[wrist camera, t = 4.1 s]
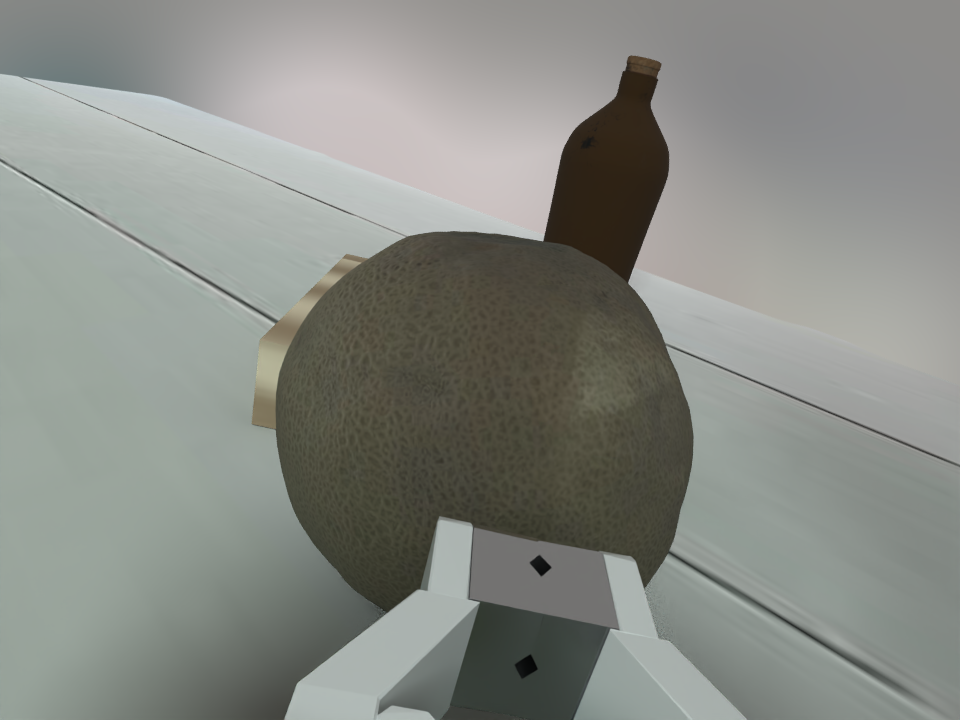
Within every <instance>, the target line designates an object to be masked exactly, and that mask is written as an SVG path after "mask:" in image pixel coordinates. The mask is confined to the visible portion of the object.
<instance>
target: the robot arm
mask: <svg viewBox="0 0 960 720" xmlns="http://www.w3.org/2000/svg"><path fill="white" fill-rule="evenodd" d="M450 705H451V706H457V707H463V708H469V709H475V710H481V711H487V712H493V713H500V714H506V715H511V716H515V717H520V718H524V719H528V720H747V719H746V718H745V717H744V716H743V715H742V714H741V713H740V712H739V711H738V710H737V709H736V708H735V707H734V706H733V705H732V704H731V703H730V702H729V701H728V700H727V699H726V698H725V697H724V696H723V695H722V694H721V693H720V691H719V690H718V689H717V688H716V687H715V686H714V685H713V684H712V683H711V682H710V681H709V680H708V679H707V678H706V677H705V676H704V675H703V674H702V673H701V672H700V671H699V670H698V669H697V668H696V667H695V666H694V665H693V664H692V663H691V662H690V661H689V660H688V659H687V658H686V657H685V656H684V655H683V654H682V653H681V652H680V651H679V650H678V649H677V648H676V647H675V646H674V645H673V644H672V643H671V642H670V641H667V640H662V639H659V636H658V633H657V629H656V626H655V623H654V620H653V616H652V613H651V610H650V606H649V603H648V600H647V597H646V593H645V590H644V587H643V583H642V580H641V577H640V574H639V570H638V567H637V564H636V561H635V560H634V559H633V558H632V557H631V556H625V555H620V554H614V553H609V552H603V551H599V552H598V551H593V550H588V549H583V548H578V547H573V546H568V545H563V544H558V543H553V542H548V541H543V540H539V539H536V538H533V537H528V536H524V535H520V534H516V533H511V532H507V531H503V530H499V529H494V528H490V527H486V526H482V525H477V524H471V523H469V522H464V521H459V520H455V519H450V518H445V517H441V516H439V519H438V521H437V524H436V528H435V532H434V536H433V540H432V544H431V548H430V552H429V556H428V560H427V564H426V567H425V571H424V575H423V580H422V584H421V588H420V590H416V591H415V592H413V593H412V594H411V595H410V596H408V597H407V598H406V599H404V600H403V601H402V602H401V603H399V604H398V605H397V606H396V607H394V608H393V609H392V610H390V611H389V612H388V613H387V614H385V615H384V616H383V617H381V618H380V619H379V620H378V621H376V622H375V623H374V624H372V625H371V626H370V627H369V628H367V629H366V630H365V631H363V632H362V633H361V634H360V635H358V636H357V637H356V638H354V639H353V640H352V641H351V642H349V643H348V644H347V645H345V646H344V647H343V648H342V649H340V650H339V651H338V652H337V653H335V654H334V655H333V656H331V657H330V658H329V659H328V660H326V661H325V662H324V663H322V664H321V665H320V666H319V667H317V668H316V669H315V670H313V671H312V672H311V673H310V674H308V675H307V676H306V677H304V678H303V679H302V680H301V681H299V682H298V683H297V685H296V688H295V691H294V694H293V696H292V699H291V702H290V705H289V708H288V710H287V713H286V716H285V719H284V720H440V719H441V718H442V717H443V715H444V714H445V713H446V712H447V710H448V709H449V706H450Z"/></svg>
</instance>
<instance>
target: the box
mask: <svg viewBox="0 0 960 720" xmlns="http://www.w3.org/2000/svg"><path fill="white" fill-rule="evenodd" d="M366 260H367V258H362V257H358V256H353V255H349V254H346V255H345V256H344V257H343V258H342V259H341V260H340V261H339V262H338V263H337V264H336V265H335V266H334V267H333V268H332V269H331V270H330V271H329V272H328V273H327V274H326V275H325V276H324V277H323V278H322V279H321V280H320V281H319V282H318V283H317V284H316V285H315V286H314V287H313V288H312V289H311V290H310V291H309V292H308V293H307V294H306V295H305V296H304V297H303V298H302V299H301V300H300V301H299V302H298V303H297V304H296V305H295V306H294V307H293V308H292V309H291V310H290V311H289V312H288V313H287V314H286V315H285V316H284V317H283V318H282V319H280V320H279V321H278V322H277V323H276V324H275V325H274V326H273V327H272V328H271V329H270V330H269V331H268V332H267V333H266V334H265V335H264V336H263V337H262V338H261V339H260V344H259V355H258V365H257V375H256V385H255V396H254V406H253V416H252V424H254V425H259V426H263V427H268V428H273V429H276V411H275V409H276V390H277V383H278V377H279V372H280V369H281V366H282V363H283V360H284V358H285V355H286V352H287V350H288V348H289V346H290V344H291V342H292V340H293V338H294V336H295V335H296V333H297V331H298V329H299V327H300V326H301V324H302V323H303V321H304V319H305V318H306V316H307V315H308V313H309V312H310V311H311V309H312V308H313V307H314V305H315V304H316V303H317V302H318V300H319V299H320V298H321V297H322V296H323V295H324V294H325V293H326V292H327V291H328V290H329V289H330V288H331V287H332V286H333V285H334V284H335V283H336V282H337V281H338V280H340V279H341V278H342V277H343V276H344V275H346V274H347V273H348V272H350V271H351V270H352V269H353V268H355V267H356V266H358V265H359V264H361V263H362V262H364V261H366Z"/></svg>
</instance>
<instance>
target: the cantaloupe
mask: <svg viewBox="0 0 960 720" xmlns="http://www.w3.org/2000/svg"><path fill="white" fill-rule="evenodd" d="M275 411H276V437H277V447H278V452H279V458H280V463H281V468H282V473H283V477H284V480H285V484H286V488H287V492H288V495H289V498H290V501H291V504H292V507H293V509H294V512H295V514H296V516H297V518H298V520H299V522H300V524H301V525H302V527H303V528H304V530H305V531H306V533H307V534H308V536H309V537H310V539H311V540H312V542H313V543H314V545H315V546H316V547H317V548H318V550H319V551H320V552H321V553H322V554H323V555H324V557H325V558H326V559H327V560H328V561H329V562H330V563H331V564H332V565H333V566H334V567H335V568H336V569H337V571H338V572H339V573H340V575H341V576H342V577H343V578H344V580H345V581H346V582H347V583H348V584H349V585H350V586H351V587H352V588H353V589H354V590H356V591H357V592H358V593H359V594H361V595H362V596H364V597H365V598H367V599H368V600H370V601H371V602H373V603H374V604H376V605H377V606H379V607H380V608H382V609H383V610H384V611H386V612H387V613H388V612H389V611H390V610H392V609H393V608H394V607H396V606H397V605H398V604H399V603H401V602H402V601H403V600H404V599H406V598H407V597H408V596H410V595H411V594H412V593H413V592H415V591H416V590H420V588H421V584H422V580H423V575H424V571H425V567H426V564H427V560H428V556H429V552H430V548H431V544H432V540H433V536H434V532H435V528H436V524H437V521H438V519H439V516H441V517H445V518H450V519H455V520H459V521H464V522H469V523H471V524H477V525H482V526H486V527H490V528H494V529H499V530H503V531H507V532H511V533H516V534H520V535H524V536H528V537H533V538H536V539H539V540H543V541H548V542H553V543H558V544H563V545H568V546H573V547H578V548H583V549H588V550H593V551H598V552H599V551H603V552H609V553H614V554H620V555H625V556H631V557H632V558H633V559H634V560H635V561H636V564H637V567H638V570H639V574H640V577H641V580H642V583H643V587H644V588H645V587H646V586H647V584H648V583H649V582H650V580H651V579H652V577H653V576H654V574H655V573H656V571H657V570H658V568H659V567H660V565H661V564H662V563H663V561H664V559H665V557H666V556H667V554H668V552H669V549H670V547H671V545H672V542H673V540H674V537H675V532H676V528H677V523H678V519H679V514H680V509H681V506H682V503H683V500H684V497H685V493H686V490H687V486H688V482H689V477H690V472H691V467H692V458H693V429H692V422H691V415H690V409H689V406H688V403H687V400H686V398H685V395H684V393H683V390H682V386H681V383H680V380H679V377H678V374H677V372H676V369H675V367H674V365H673V363H672V361H671V359H670V356H669V354H668V351H667V348H666V345H665V343H664V340H663V337H662V334H661V332H660V330H659V328H658V326H657V324H656V322H655V320H654V318H653V316H652V314H651V312H650V311H649V309H648V307H647V306H646V304H645V303H644V302H643V300H642V299H641V298H640V296H639V295H638V294H637V293H636V291H635V290H634V289H633V288H632V287H631V286H630V285H629V284H628V283H627V282H626V281H625V280H624V279H623V278H621V277H620V276H619V275H618V274H616V273H615V272H614V271H612V270H611V269H610V268H609V267H607V266H606V265H605V264H603V263H601V262H599V261H598V260H596V259H594V258H593V257H591V256H588V255H586V254H584V253H582V252H580V251H579V250H577V249H575V248H573V247H571V246H567V245H563V244H558V243H550V242H543V241H537V240H531V239H524V238H519V237H514V236H508V235H501V234H486V233H479V232H458V231H451V232H431V233H424V234H418V235H413V236H408V237H406V238H404V239H402V240H399V241H398V242H396V243H394V244H392V245H391V246H389V247H387V248H386V249H384V250H382V251H381V252H379V253H377V254H376V255H374V256H372V257H371V258H369V259H367V260H366V261H364V262H362V263H361V264H359V265H358V266H356V267H355V268H353V269H352V270H351V271H350V272H348V273H347V274H346V275H344V276H343V277H342V278H341V279H340V280H338V281H337V282H336V283H335V284H334V285H333V286H332V287H331V288H330V289H329V290H328V291H327V292H326V293H325V294H324V295H323V296H322V297H321V298H320V299H319V300H318V302H317V303H316V304H315V305H314V307H313V308H312V309H311V311H310V312H309V313H308V315H307V316H306V318H305V319H304V321H303V323H302V324H301V326H300V327H299V329H298V331H297V333H296V335H295V336H294V338H293V340H292V342H291V344H290V346H289V348H288V350H287V352H286V355H285V358H284V360H283V363H282V366H281V369H280V372H279V377H278V383H277V390H276V409H275Z"/></svg>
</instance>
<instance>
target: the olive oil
mask: <svg viewBox="0 0 960 720" xmlns="http://www.w3.org/2000/svg"><path fill="white" fill-rule="evenodd" d="M660 68H661V63H660V62H658V61H655V60H652V59H647V58H643V57H638V56H629V57H628V60H627V67H626V70H625V71H623V73H622V77H621V81H620V84H619V89H618V93H617V96H616V97H615V99H614V100H612V101H611V102H610V103H609V104H607V105H606V106H605V107H603V108H602V109H600V110H599V111H598V112H596V113H595V114H593V115H592V116H590V117H589V118H588V119H586V120H585V121H583V122H582V123H581V124H580V125H579V126H578V127H577V128H576V129H575V130H574V131H573V133H572V134H571V136H570V137H569V139H568V141H567V143H566V145H565V147H564V149H563V152H562V155H561V160H560V165H559V169H558V174H557V179H556V184H555V189H554V195H553V199H552V204H551V208H550V213H549V218H548V222H547V227H546V232H545V236H544V241H543V242H550V243H558V244H563V245H567V246H571V247H573V248H575V249H577V250H579V251H580V252H582V253H584V254H586V255H588V256H591V257H593V258H594V259H596V260H598V261H599V262H601V263H603V264H605V265H606V266H607V267H609V268H610V269H611V270H612V271H614V272H615V273H616V274H618V275H619V276H620V277H621V278H623V279H624V280H625V281H626V282H627V283H628V281H629V279H630V276H631V273H632V270H633V268H634V265H635V262H636V259H637V257H638V254H639V251H640V249H641V246H642V244H643V241H644V238H645V236H646V233H647V230H648V228H649V225H650V222H651V220H652V217H653V215H654V212H655V209H656V207H657V204H658V202H659V199H660V196H661V194H662V191H663V189H664V186H665V183H666V180H667V177H668V171H669V151H668V147H667V144H666V142H665V139H664V137H663V135H662V133H661V131H660V128H659V126H658V124H657V122H656V120H655V117H654V115H653V113H652V110H651V100H652V97H653V94H654V91H655V88H656V85H657V81H658V79H657V75H658V72H659V70H660Z"/></svg>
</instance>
